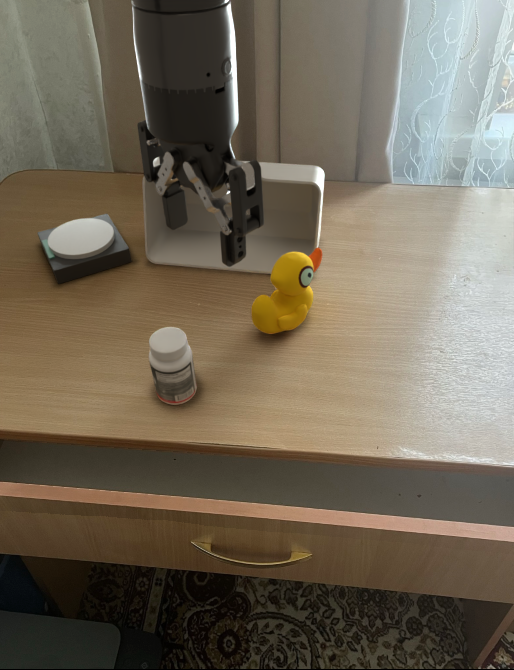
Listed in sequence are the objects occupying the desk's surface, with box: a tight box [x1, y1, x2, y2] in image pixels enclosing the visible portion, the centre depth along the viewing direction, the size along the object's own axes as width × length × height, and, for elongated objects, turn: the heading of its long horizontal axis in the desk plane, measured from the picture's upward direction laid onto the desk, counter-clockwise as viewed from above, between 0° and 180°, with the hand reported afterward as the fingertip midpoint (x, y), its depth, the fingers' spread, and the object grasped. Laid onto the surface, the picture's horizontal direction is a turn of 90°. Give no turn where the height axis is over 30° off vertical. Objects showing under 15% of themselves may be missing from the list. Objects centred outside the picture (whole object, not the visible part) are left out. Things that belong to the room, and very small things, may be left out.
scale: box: [36, 213, 133, 285], centre depth 83 cm, size 11×11×3 cm
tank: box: [141, 157, 325, 275], centre depth 82 cm, size 25×16×12 cm, turn 80°
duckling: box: [250, 247, 323, 335], centre depth 69 cm, size 11×5×10 cm, turn 133°
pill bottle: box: [148, 326, 198, 406], centre depth 61 cm, size 5×5×8 cm
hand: (204, 243), depth 54 cm, fingers open, 8 cm apart
